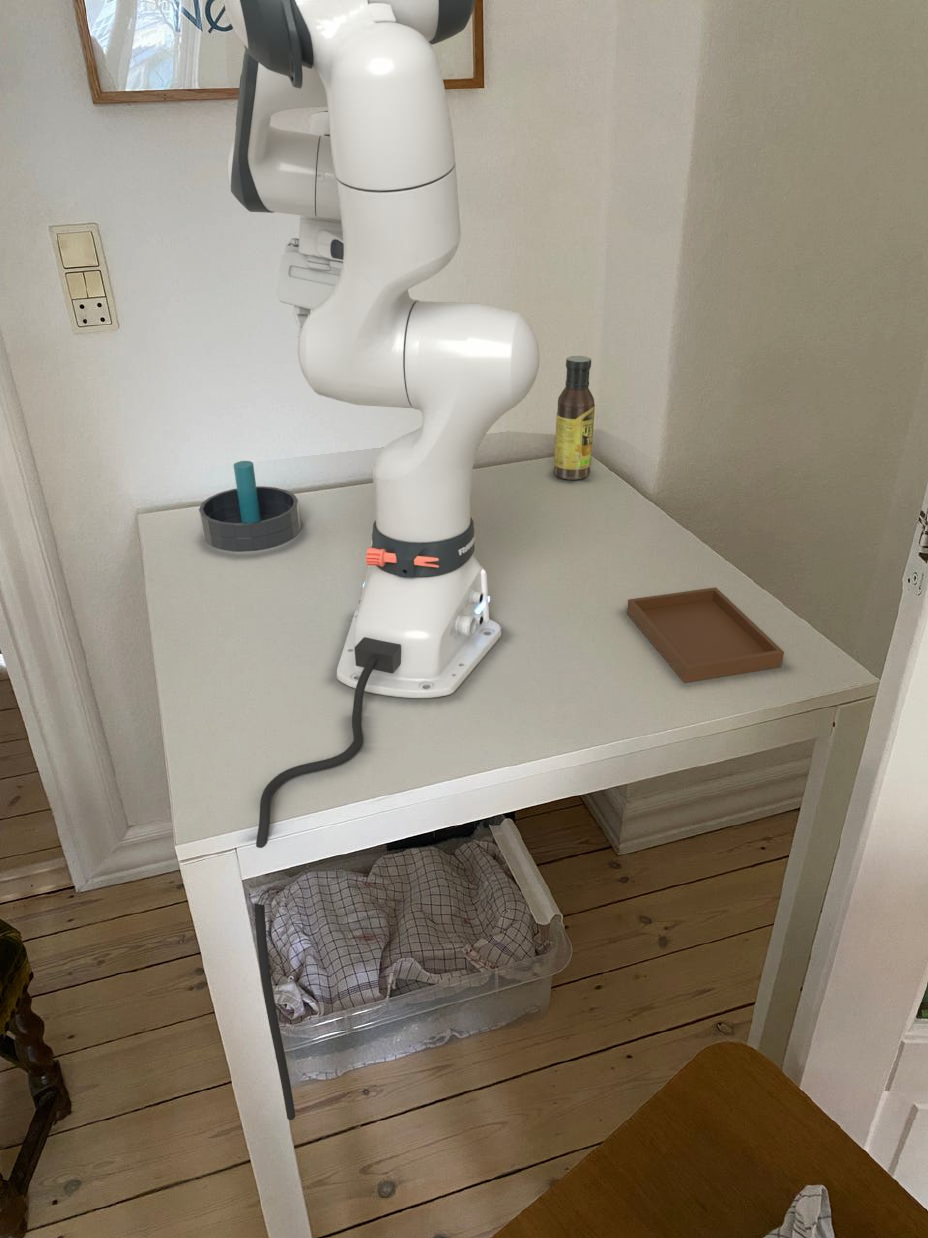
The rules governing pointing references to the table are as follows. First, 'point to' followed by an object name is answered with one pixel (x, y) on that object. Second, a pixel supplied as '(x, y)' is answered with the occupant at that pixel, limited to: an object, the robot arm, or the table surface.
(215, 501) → the bowl
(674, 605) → the tray
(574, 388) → the sauce bottle
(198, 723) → the table surface
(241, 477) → the teal rod with crossbar
